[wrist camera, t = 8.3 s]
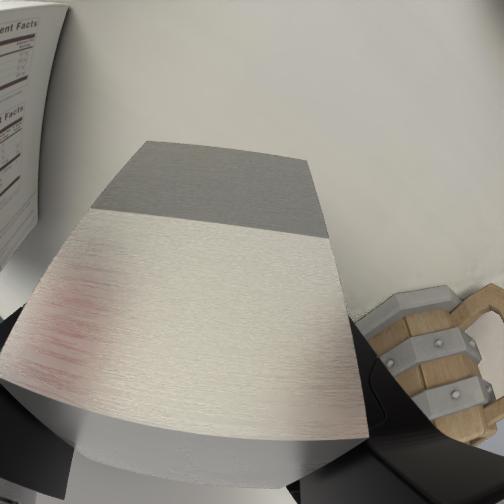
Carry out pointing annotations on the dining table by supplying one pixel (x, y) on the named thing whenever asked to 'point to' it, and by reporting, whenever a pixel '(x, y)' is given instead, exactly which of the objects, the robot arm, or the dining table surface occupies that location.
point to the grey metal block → (195, 325)
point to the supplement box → (23, 111)
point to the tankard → (439, 356)
